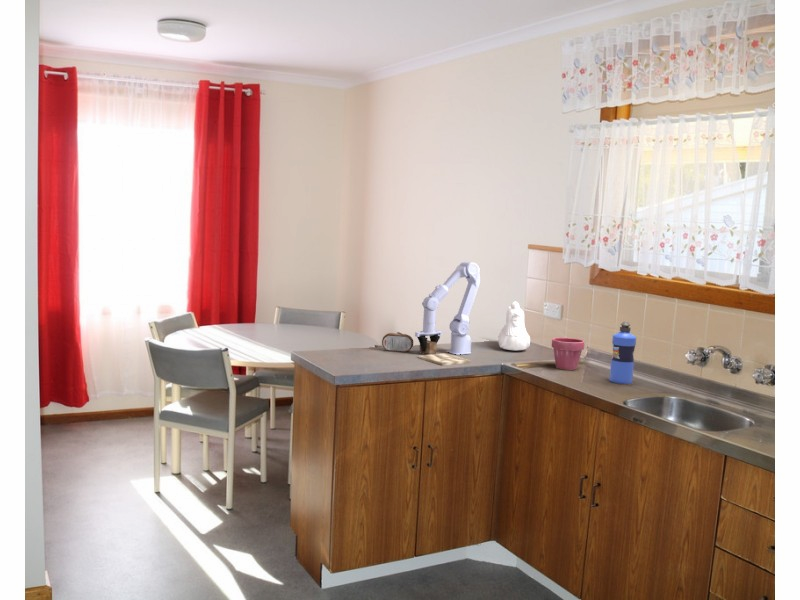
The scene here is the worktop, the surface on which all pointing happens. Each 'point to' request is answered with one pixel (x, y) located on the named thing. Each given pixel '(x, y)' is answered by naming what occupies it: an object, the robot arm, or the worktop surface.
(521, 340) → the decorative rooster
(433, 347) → the block
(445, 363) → the board
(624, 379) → the water bottle
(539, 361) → the worktop surface
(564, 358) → the plant pot
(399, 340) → the tin
